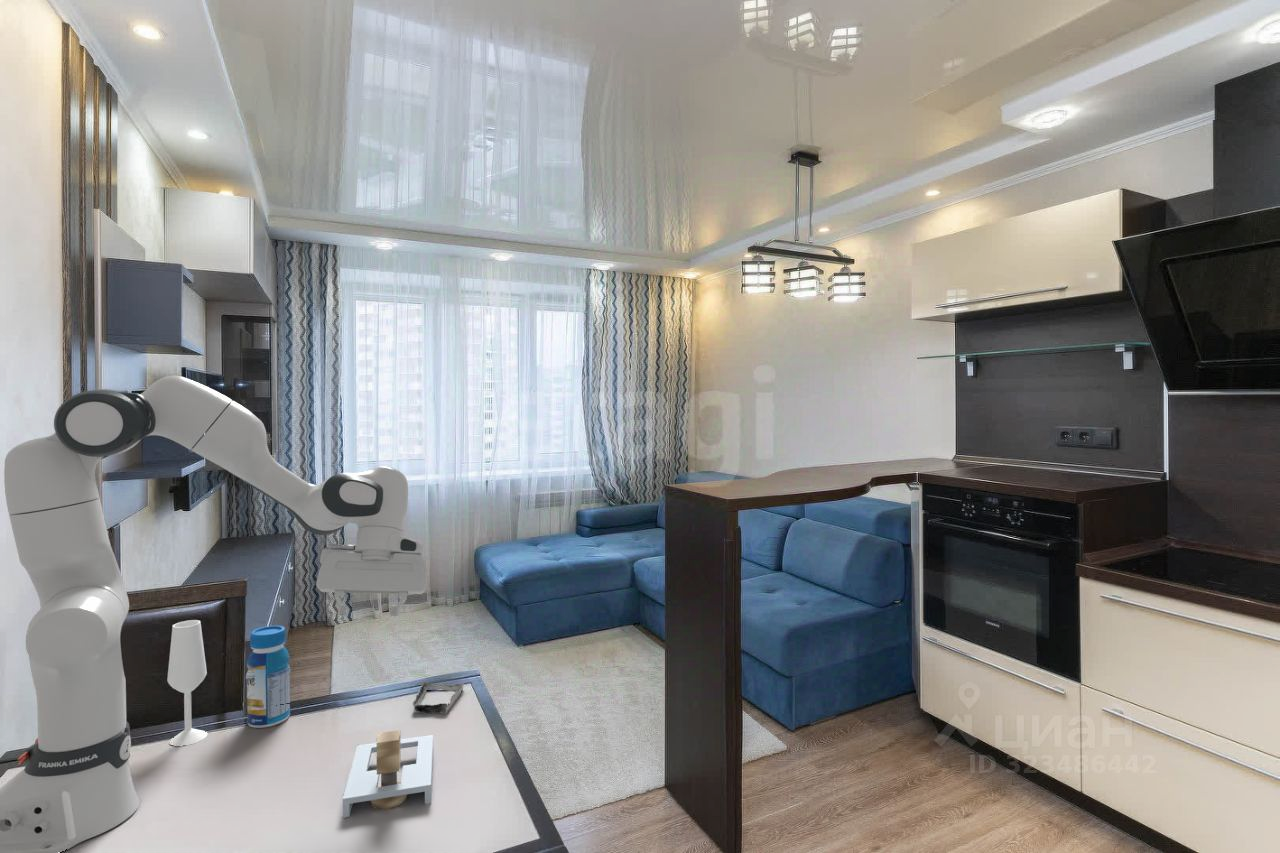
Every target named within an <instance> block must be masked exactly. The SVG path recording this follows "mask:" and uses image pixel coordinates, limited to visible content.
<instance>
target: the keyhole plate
mask: <svg viewBox="0 0 1280 853" xmlns="http://www.w3.org/2000/svg"><path fill="white" fill-rule="evenodd" d="M400 745H401V750H402V749H407V748H414V747H417V752H416V761H415V763H411V764H405V765H403V766H402V773H401V778H400V779H401V781H400V782H401V784H396V785H389V786H383V787H378V786H379V780H380V777H381V774H378V775H377V769H372V770H369V767H370V766H369V765H370V762H371V757H372V753H373V754H374V753H377V742H372V743H371V742H370V743H365V744H358V745H357V746H356V750H355V753H354V756H353V759H352V763H351V764H352V765H351V768H350V771H349V775H348V778H347V782H346V785H345V789H344V793H343V797H342V819H344V818H350V816H351V812H352V808H353V804H356V803H362V802H369V801H371V800H375V799H381V798H388V797H394V796H400V795H406V794H407V795H411V794H417V793H423V792H424V805H427V804H431V803H432V791H433V790H432V788H433V787H432V786H433V768H434V766H433V764H434V763H433V762H434V735H433V734H429V735H422V736H415V737H408V738H400Z"/></svg>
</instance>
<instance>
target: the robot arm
mask: <svg viewBox="0 0 1280 853" xmlns="http://www.w3.org/2000/svg"><path fill="white" fill-rule="evenodd" d="M53 428H54V433H52V434H51V435H49V436H45V437H39V438H34V439H30V440H27V441H24V442H22V443H19V444H17V445H16V446H14V447H13V448H11V449H10V450H9V451H8V453H7V454H6V456H5V459H4V472H3V476H4V481H3V482H4V494H5V501H6V507H7V511H8V516H9V520H10V525H11V529H12V533H13V538H14V543H15V545H16V546H15V547H16V551H17V554H18V559H19V563H20V564H21V566H22V567H23V568H24V569H25V571H26V572H27V574H28V576H29V578H30V580H31V583H32V584H33V586H34V589H35V591H36V593H37V596H38V599H39V604H40V609H39V610H38V611H36V613H35V614H34V615H33V617H32V618H31V620H30V621H29V623H28V626H27V629H26V632H25V633H26V635H25V649H26V653H27V655H28V658H29V659H28V660H29V666H30V672H31V677H32V681H33V686H34V689H35V694H36V702H37V705H36V706H37V738H36V739H35V741H34V743H33V744H32V745H30V746H29V747H28V748H26V749H25V752H24V753H23V754H22V755H20V756H19V757H18V758H17V761H19V762H18V763H17V766H20V765H22V764H23V763H25V767H24V768H23V769H22V770H21V771H19V772H18V773H17V774H16V775H14V776H13V777H12V778H11V779H9V780H8V781H6V783H4V784H3V785H2V786H0V853H58V852H62V851H64V852H65V850H66V849H67V850H69V849H71V848H72V847H74V846H76V845H78V844H81V843H83V842H84V841H86V840H90V839H91V838H94V837H97V836H99V835H101V834H103V833H105V832H108V831H109V830H111V829H113V828H115V827H116V826H118V825H120V824H121V823H124V822H125V821H126V820H127V819H128V818H130V817H131V816H132V815H133V814H134V813H135V812H136V811H137V810H138V808H139V806H140V803H141V800H140V797H139V796H138V793H137V790H136V788H135V784H134V780H133V777H132V772H131V767H130V766H131V765H130V757H131V748H132V739H131V730H130V722H128V721H127V687H126V686H127V684H126V683H127V682H126V681H127V680H126V676H125V671H124V666H123V658H122V648H121V647H122V646H121V632H122V627H123V625H124V622H125V620H126V618H127V616H128V613H129V610H130V601H129V596H128V594H127V593H128V592H127V589H126V586H125V583H124V579H123V576H122V573H121V570H120V567H119V564H118V562H117V559H116V556H115V553H114V551H113V547H112V546H111V541H110V538H109V533H108V528H107V524H106V521H105V520H106V519H105V515H104V511H103V506H102V502H101V497H100V494H99V489H98V485H97V478H96V468H97V465H98V464H99V462H100V461H101V460H104V459H106V458H108V457H111V456H116V455H120V454H123V453H125V452H128V451H130V450H131V449H133V448H134V447H135V446H137V445H138V444H139V442H141V440H142V439H144V438H146V437H149V436H159V437H164V438H165V439H169V440H171V441H174V442H175V443H177V444H179V445H181V446H182V447H185V449H188V450H190V451H191V452H193V453H196V454H197V455H199V456H200V457H203V458H204V459H206V460H208V461H210V462H211V463H214V464H215V465H217V466H219V467H221V468H222V469H224V470H226V471H228V472H229V473H230V474H232V475H233V476H235V477H237V478H238V479H240V480H242V481H243V482H244V483H245V484H247V485H249V486H250V487H252V488H254V489H255V490H256V491H259V493H261V494H262V495H265V496H267V497H268V498H269V499H271V500H272V501H274V502H276V503H277V504H278V505H281V507H284V508H285V509H286V510H287V511H289V512H290V513H291V515H292V516H293V517H294V518H295V519H296V520H297V522H298V523H299V524H300V526H301V527H302V528H304V529H305V530H306V531H308V532H310V533H311V534H313V535H318V536H328V535H332V534H336V533H337V532H339V531H341V529H343V528H344V527H345V526H346V525H348V524H355V525H356V526H357V533H356V539H355V544H337V543H333V544H330V545H329V546H325V547H324V548H323V549H322V551H321V552H320V559H319V564H320V568H319V572H318V575H317V578H316V582H315V585H316V586H315V587H316V588H317V589H318V590H319V591H320V592H321V593H334V594H333V597H334V599H335V602H336V604H337V606H338V608H337V616H338V617H347V616H348V611H349V606H348V605H344V604H343V602H342V600H341V599H343V598H344V597H345V593H351V594H359V593H360V594H388V595H389V594H391V595H392V594H394V595H395V594H397V595H398V599H399V601H398V602H397V604H396V605H395V606H391V607H390V613H389V617H391V618H399V616H400V609H401V608H402V607H403V605H404V604H405V602H406V601H407V599H408V598H407V597H408V595H422V594H424V593H425V592H426V591H427V585H428V584H427V581H428V579H427V578H428V577H427V576H428V574H427V563H426V560H425V558H424V554H425V553H424V552H425V548H424V544H422V542H420V541H418V540H414V539H412V538H409V537H406V536H404V534H405V532H404V529H405V528H404V520H405V517H406V514H407V510H408V501H409V482H408V479H407V477H406V475H405V474H404V473H403V472H401V471H400V470H398V469H395V468H393V467H390V466H382V465H381V466H380V465H379V466H374V467H373V468H371V469H368V470H365V471H361V472H338V473H336V474H334V475H331V476H330V477H328V478H326V479H325V480H324V481H323V482H321V483H320V484H312V483H309V482H307V481H306V480H305V479H303V478H301V477H300V476H298V475H296V474H295V473H294V472H292V471H290V470H289V469H288V468H286V467H285V466H283V465H281V464H280V463H279V462H277V461H276V460H275V459H274V457H273V456H272V455H271V452H270V449H269V447H268V437H267V431H266V430H267V429H266V427H265V425H264V422H262V420H261V419H260V418H258V417H257V416H256V415H255V414H254V413H253V412H252V411H250V410H249V409H248V408H246V407H245V406H243V405H241V404H240V403H238V402H236V401H235V400H232V399H231V398H230V397H228V396H226V395H225V394H222V393H220V392H219V391H218V390H215V389H213V388H210V386H206V385H205V384H202V383H200V382H197V381H195V380H192V379H190V378H187V377H184V376H181V375H173V374H172V375H167V376H164V377H161V378H159V379H157V380H155V381H154V382H153V383H152V384H150V385H149V386H148V387H147V388H146V390H144V391H143V392H141V393H137V392H125V391H118V390H115V389H107V388H105V389H103V388H101V389H100V388H99V389H91V390H86V391H82V392H79V393H76V394H74V395H72V396H70V397H68V398H67V399H65V401H63V403H61V405H59V407H58V408H57V411H56V412H55V415H54V419H53ZM67 850H66V851H67ZM62 853H63V852H62Z"/></svg>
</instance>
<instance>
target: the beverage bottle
mask: <svg viewBox="0 0 1280 853" xmlns="http://www.w3.org/2000/svg"><path fill="white" fill-rule="evenodd" d="M286 632H287V631H286V627H285V626H283V625H267V626H263V627H262V626H261V627H259V628H256V629H254V630H252V631H251V632H250V635H249V642H250V643H249V644H250V646H249V647H250V649H252V651H251V653H250V654H249V656H248V657H247V662H246V667H247V671H246V675H245V681H246V701H247V702H246V704H247V709H246V710H247V718H246V720H247V722H246V723H247V725H248V726H249V727H251V728H254V729H264V728H270V727H274V726H277V725H279V724H281V723H283V722H285V721H286V720H287V719H288V718H289V717H290V715H291V705H290V704H291V703H290V702H291V701H290V699H291V698H290V696H291V695H290V693H291V691H290V690H291V688H290V681H291V678H290V677H291V676H290V674H291V666H290V664H289V661H290V658H291V657H290V654H289V651H288V650H287V648H286V647H285V646H284V645H285V643H286V638H287V637H286V636H287V635H286V634H287V633H286ZM286 703H290V704H286ZM280 704H284V705H280ZM276 705H277V706H276Z"/></svg>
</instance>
